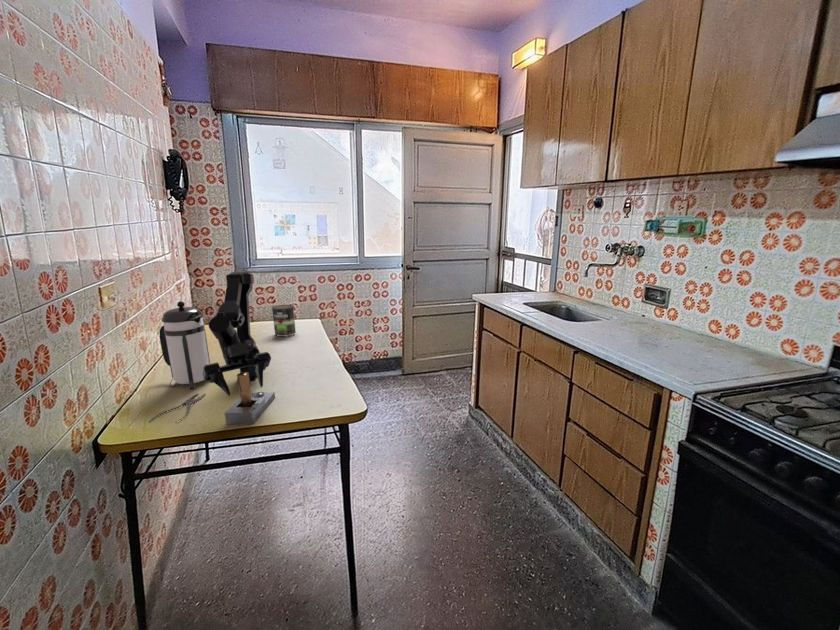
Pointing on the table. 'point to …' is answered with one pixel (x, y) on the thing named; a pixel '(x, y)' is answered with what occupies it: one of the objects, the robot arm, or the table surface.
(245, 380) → the pin
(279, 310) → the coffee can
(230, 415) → the gray remote-style box
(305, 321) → the table surface
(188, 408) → the pliers
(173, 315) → the coffee press
